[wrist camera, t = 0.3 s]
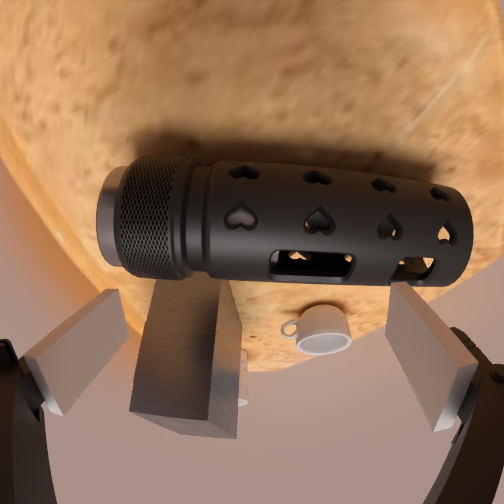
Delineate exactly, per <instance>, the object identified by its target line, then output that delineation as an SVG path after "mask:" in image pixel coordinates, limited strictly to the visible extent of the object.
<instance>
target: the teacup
mask: <svg viewBox="0 0 504 504" xmlns="http://www.w3.org/2000/svg"><path fill="white" fill-rule="evenodd" d="M290 324H295V325H296V326H297V329H296V330H295V332H294V333H293V334H291V335H287V334H285V332H284V327H285V326H287V325H290ZM281 334H282V335H283V337H285V338H287V339H293V338H296V348H297V350H298V351H300V352H302V353H305V354H310V355H325V354H331V353H335V352H339V351H341V350H344V349H346V348H347V347H349V346H350V344H351V343H352V339H351V333H350V328H349V324H348V321H347V318H346V316H345V315H344V313H343V312H342V311H341V310H340V309H339V308H337V307H335V306H332V305H327V304H321V305H316V306H313V307H311V308H309V309H307V310H306V311H305V312H304V313H303V314H302V315H301V317H300V318H298V319H294V320H290V321H288V322H286V323H284V324H283V325H282V327H281Z"/></svg>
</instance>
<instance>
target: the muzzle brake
mask: <svg viewBox="0 0 504 504" xmlns="http://www.w3.org/2000/svg"><path fill="white" fill-rule="evenodd" d="M305 222H306V223H307V227H306V224H305ZM442 227H444V228H445V229H446V230H447V231H448V233H449V235H450V238H449V241H448V240H447V239H441V240H439V238H438V233H439V230H440V229H441V228H442ZM394 230H396V233H395V235H394V236H393V235H392V233H393V231H394ZM96 231H97V239H98V244H99V248H100V251H101V254H102V256H103V257H104V259H105V260H106V261H107V262H108V263H109V264H110V265H112V266H115V267H124V268H125V269H126V271H128V272H129V273H131V274H132V275H134V276H136V277H139V278H151V279H164V280H178V281H180V280H184V279H185V278H190V277H191V276H192V275H193V274H194V272H195V271H200V272H207V274H208V275H209V276H210V277H211V278H213V279H222V280H240V281H259V282H280V283H303V284H330V285H363V286H391V283H393V282H407V283H408V284H409V285H410V286H417V287H444V286H449V285H451V284H452V283H454V282H455V281H456V280H457V279H458V278H459V277H460V276H461V275H462V273H463V272H464V270H465V268H466V266H467V264H468V261H469V259H470V255H471V251H472V246H473V221H472V216H471V212H470V209H469V206H468V204H467V202H466V200H465V199H464V197H463V196H462V195H461V193H460V192H458V191H457V190H456V189H454V188H451V187H448V186H443V185H438V184H433V183H428V182H422V181H417V180H411V179H405V178H399V177H393V176H387V175H380V174H374V173H366V172H359V171H351V170H343V169H335V168H326V167H316V166H306V165H295V164H282V163H268V162H252V161H230V160H220V161H217V162H216V163H215V164H214V165H213V166H211V167H208V166H200V165H199V163H198V161H197V160H196V159H191V158H190V157H188V156H144V157H140V158H138V159H137V160H135V161H134V162H132V163H131V164H130V165H129V166H120V167H116V168H115V169H113V170H112V171H111V172H110V173H109V174H108V176H107V177H106V179H105V181H104V183H103V185H102V188H101V191H100V194H99V199H98V203H97V212H96ZM296 252H298V253H299V254H300V255H302V256H303V257H304V258H306V259H307V260H304V259H302V258H298V259H292V258H290V256H292V255H293V254H294V253H296ZM349 255H350V256H351V257H352V259H351V262H348V261H346V258H347V257H348V256H349ZM423 257H425V258H433V259H434V260H433V262H432V264H431V266H430V267H429V268H427V266H426V264H425V262H424V260H423ZM400 261H403V262H404V263H405V264H403V265H401V264H399V262H400Z"/></svg>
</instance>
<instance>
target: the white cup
mask: <svg viewBox="0 0 504 504" xmlns="http://www.w3.org/2000/svg"><path fill="white" fill-rule="evenodd" d="M246 404H248V367H247V353H246V351H244V350H242V349H241V358H240V377H239V397H238V406H243V405H246Z"/></svg>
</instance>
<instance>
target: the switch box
mask: <svg viewBox="0 0 504 504" xmlns="http://www.w3.org/2000/svg"><path fill="white" fill-rule="evenodd" d="M241 339H242V325H241V322H240V318H239V315H238V312H237V309H236V305H235V302H234V299H233V295H232V292H231V289H230V285H229V282H228V280H222V279H213V278H211V277H210V276H209V275H208V274H207V272H200V271H195V272H194V274H193V275H192V276H191V277H190V278H185V279H184V280H180V281H178V280H164V279H157V280H156V284H155V288H154V292H153V296H152V300H151V304H150V309H149V313H148V317H147V321H146V326H145V330H144V335H143V339H142V344H141V349H140V354H139V359H138V364H137V369H136V374H135V379H134V385H133V391H132V396H131V402H130V409H129V411H130V412H132V413H134V414H136V415H138V416H140V417H142V418H144V419H147V420H149V421H151V422H153V423H155V424H158V425H160V426H162V427H165V428H167V429H169V430H172V431H174V432H177V433H179V434H183V435H192V436H203V437H215V438H232V439H236V436H237V416H238V397H239V377H240V358H241Z"/></svg>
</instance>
